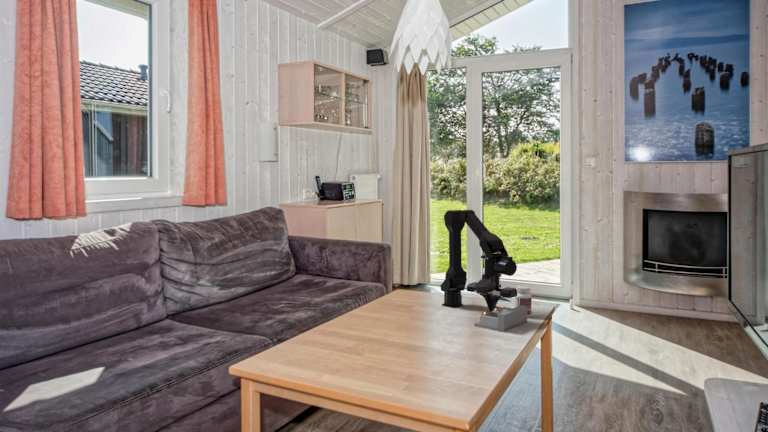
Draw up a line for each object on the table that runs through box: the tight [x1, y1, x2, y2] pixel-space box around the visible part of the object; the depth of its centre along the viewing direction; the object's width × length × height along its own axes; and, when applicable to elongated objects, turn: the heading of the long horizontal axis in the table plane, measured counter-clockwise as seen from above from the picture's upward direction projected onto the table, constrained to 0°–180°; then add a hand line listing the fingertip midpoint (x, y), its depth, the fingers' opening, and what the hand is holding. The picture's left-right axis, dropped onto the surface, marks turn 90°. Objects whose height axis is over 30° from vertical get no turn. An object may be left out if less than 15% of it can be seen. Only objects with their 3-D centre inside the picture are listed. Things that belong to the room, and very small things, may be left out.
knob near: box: [481, 309, 498, 318], centre depth 202 cm, size 8×5×4 cm, turn 49°
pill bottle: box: [514, 285, 533, 318], centre depth 216 cm, size 6×6×11 cm
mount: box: [473, 305, 528, 333], centre depth 204 cm, size 12×17×6 cm
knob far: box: [493, 305, 509, 312], centre depth 208 cm, size 8×5×4 cm, turn 49°
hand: (491, 312), depth 212 cm, fingers closed
